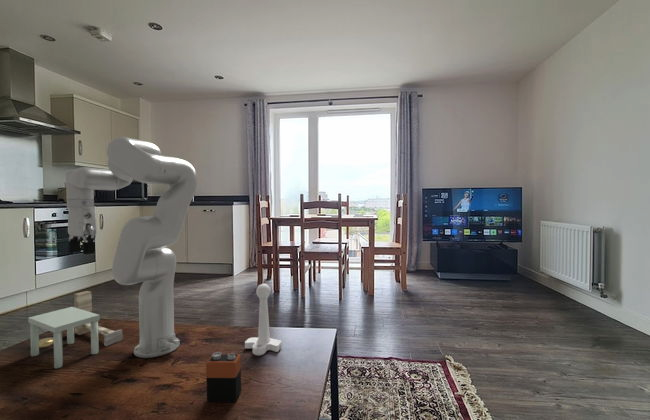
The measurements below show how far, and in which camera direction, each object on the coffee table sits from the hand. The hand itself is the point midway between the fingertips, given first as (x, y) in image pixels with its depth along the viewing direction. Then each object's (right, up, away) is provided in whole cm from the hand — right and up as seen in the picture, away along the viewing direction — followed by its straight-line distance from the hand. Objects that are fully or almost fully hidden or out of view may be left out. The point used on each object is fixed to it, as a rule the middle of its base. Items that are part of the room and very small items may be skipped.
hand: (81, 252), depth 109 cm
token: (-5, -29, -9) cm, 31 cm away
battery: (+63, -29, -38) cm, 79 cm away
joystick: (+67, -28, -15) cm, 74 cm away
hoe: (+8, -28, -4) cm, 30 cm away
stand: (+7, -29, -16) cm, 33 cm away
